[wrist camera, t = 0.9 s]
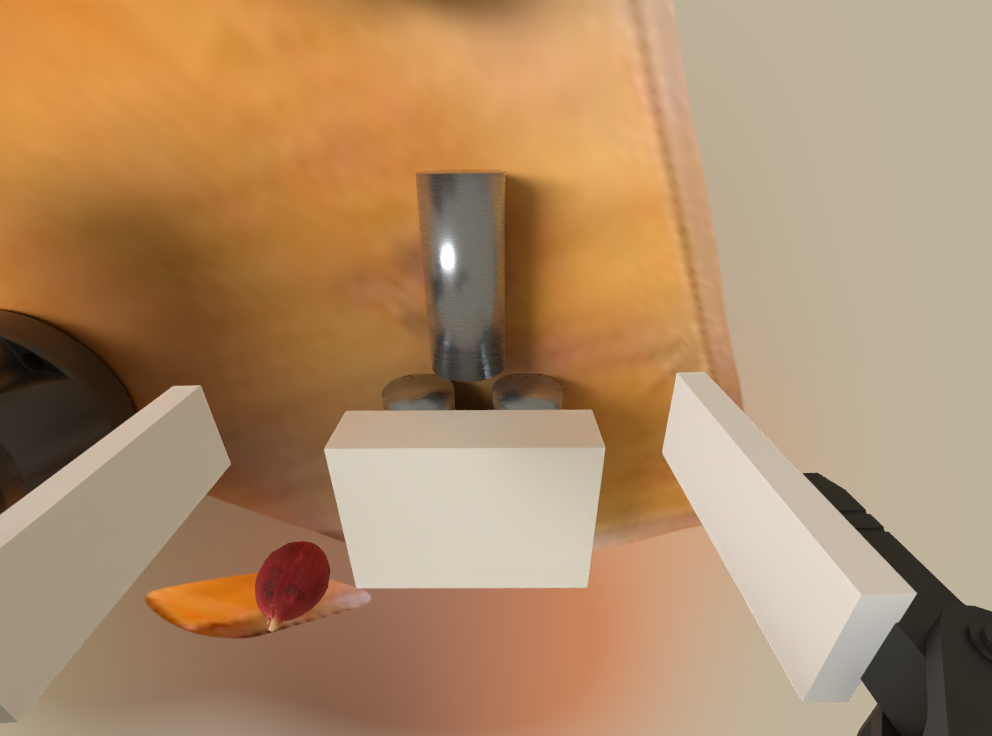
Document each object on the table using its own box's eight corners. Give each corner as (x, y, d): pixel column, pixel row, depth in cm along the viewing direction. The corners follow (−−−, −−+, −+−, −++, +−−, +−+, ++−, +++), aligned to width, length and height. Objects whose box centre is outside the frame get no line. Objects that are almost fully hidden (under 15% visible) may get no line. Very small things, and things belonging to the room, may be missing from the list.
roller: (438, 348, 32) (425, 381, 27) (424, 170, 26) (406, 174, 22) (505, 349, 32) (504, 382, 27) (506, 169, 26) (504, 173, 22)
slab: (371, 541, 34) (356, 588, 30) (345, 410, 28) (323, 448, 25) (577, 540, 33) (587, 587, 30) (591, 409, 28) (605, 447, 24)
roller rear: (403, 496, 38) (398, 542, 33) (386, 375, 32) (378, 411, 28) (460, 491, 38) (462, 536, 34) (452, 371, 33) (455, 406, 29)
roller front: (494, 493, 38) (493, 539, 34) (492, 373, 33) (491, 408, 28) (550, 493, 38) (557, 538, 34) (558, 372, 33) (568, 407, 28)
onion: (269, 525, 40) (219, 607, 33) (329, 518, 39) (292, 600, 32) (292, 568, 42) (250, 652, 35) (348, 562, 42) (318, 647, 35)
